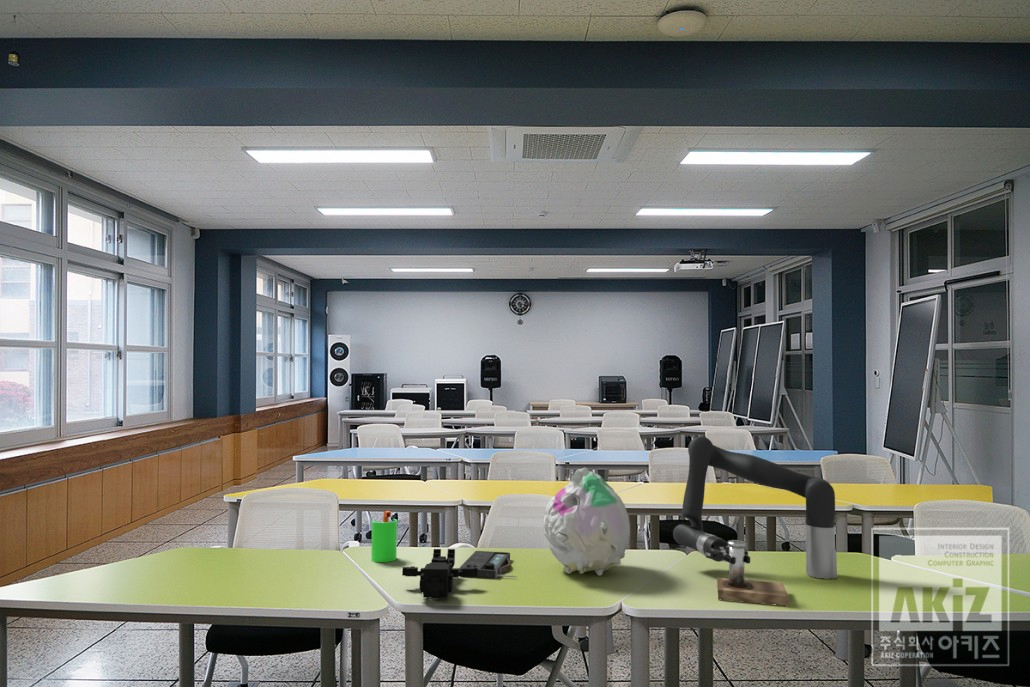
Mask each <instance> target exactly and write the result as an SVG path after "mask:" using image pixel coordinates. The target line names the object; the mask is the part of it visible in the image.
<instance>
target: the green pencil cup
mask: <svg viewBox="0 0 1030 687" xmlns="http://www.w3.org/2000/svg"><path fill="white" fill-rule="evenodd" d="M391 517H392V514H391V511H390V510H385V511H384V512H383V517H382V522H378V521H374V520H371V552H370V553H371V558H370V559H371V561H372V562H374V563H389V562H393V561H395V560H397V554H398V553H397V550H398V548H397V546H398V545H397V541H398V539H397V538H398V537H397V536H398V534H397V533H398V520H397V519H396V518H392V521H389V518H391Z"/></svg>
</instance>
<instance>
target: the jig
mask: <svg viewBox="0 0 1030 687" xmlns="http://www.w3.org/2000/svg"><path fill="white" fill-rule="evenodd" d="M716 579H717V580H716V584H717V586H716V589H718V590H717V600H718V599H721V600H720V601H725V600H733V601H732V602H736V601H743V602H742V603H746V602H754V603H753V604H757V603H764V604H763V605H768V604H776V605H775V606H778V605H785V606H784V607H789V595H788V592H787V590H786V588H785V585H784V583H783V582H775V581H764V580H750V579H744V583H734V582H731V581H729V577H727V578H726V577H716Z"/></svg>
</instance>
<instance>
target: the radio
mask: <svg viewBox="0 0 1030 687" xmlns="http://www.w3.org/2000/svg"><path fill="white" fill-rule="evenodd" d="M467 567H471V568H478V576H474V577H473V578H478V579H479V578H480V579H494V580H495V579H496V580H497V579H498V578H500V577H504V578H518V575H517V576H516V575H511V574H509V575H507V574H503V573H505V572H507V571H509V570H511V552H502V551H488V550H487V551H486V550H484V551H483V550H475V551H474V552H473V553H472V554H471V555H470V556H469V557H468V558H467V559H466V560H465V561H464V562H463V564H461V565H460V567H458V568H459V571H462V569H463V568H467ZM459 577H461V578H463V577H462V576H459Z"/></svg>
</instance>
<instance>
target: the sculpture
mask: <svg viewBox="0 0 1030 687" xmlns="http://www.w3.org/2000/svg"><path fill="white" fill-rule="evenodd" d="M543 529H544V530H543V532H544V536H545V538H546V539H547V545H548V547H549V549H550V551H551V553H552V555H553V556H554V558H556V560H557V561H558V562H559V563H560V564H561V565H563V566H564V568H563V571H564V573H566V574H568V575H571V574H573V572H575V571H578V575H581V574H584V573H587V572H591V571H594V572H595V574H596V575H597V576H599V577H601V576H602V575H603V572H605V571H608V569H611V568H612V567H616V566H619V565H621V563H622V561H621V559H624V558H625V557H626V556H625V554H626V553H625V552H626V550H627V547H628V546H629V541H630V537H631V536H630V535H631V524H630V519H629V514H628V512H627V508H626V504H625V503H624V502H623V500H622V499H621V497H620V496H619V495H618V493H617V492H616V491H615V490H614V488H613V487H611V486H610V485H609V483H608V482H607V481H606V480H605V479H604V478H603V477H602V476H601V475H600V474H598V473H595V472H593V471H590V470H589V469H588V468H587V467H583V468H578V469H576V471H575V472H574V474H573V476H572V477H571V479H570V482H569V483H568V484H567V485H565V486H563V487H562V488H561V489H559V491H558V492H556V494H555V495H554V496H553V497H552V498H551V499H550V500H549V501H548V503H547V505H546V507H545V512H544V517H543Z"/></svg>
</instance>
